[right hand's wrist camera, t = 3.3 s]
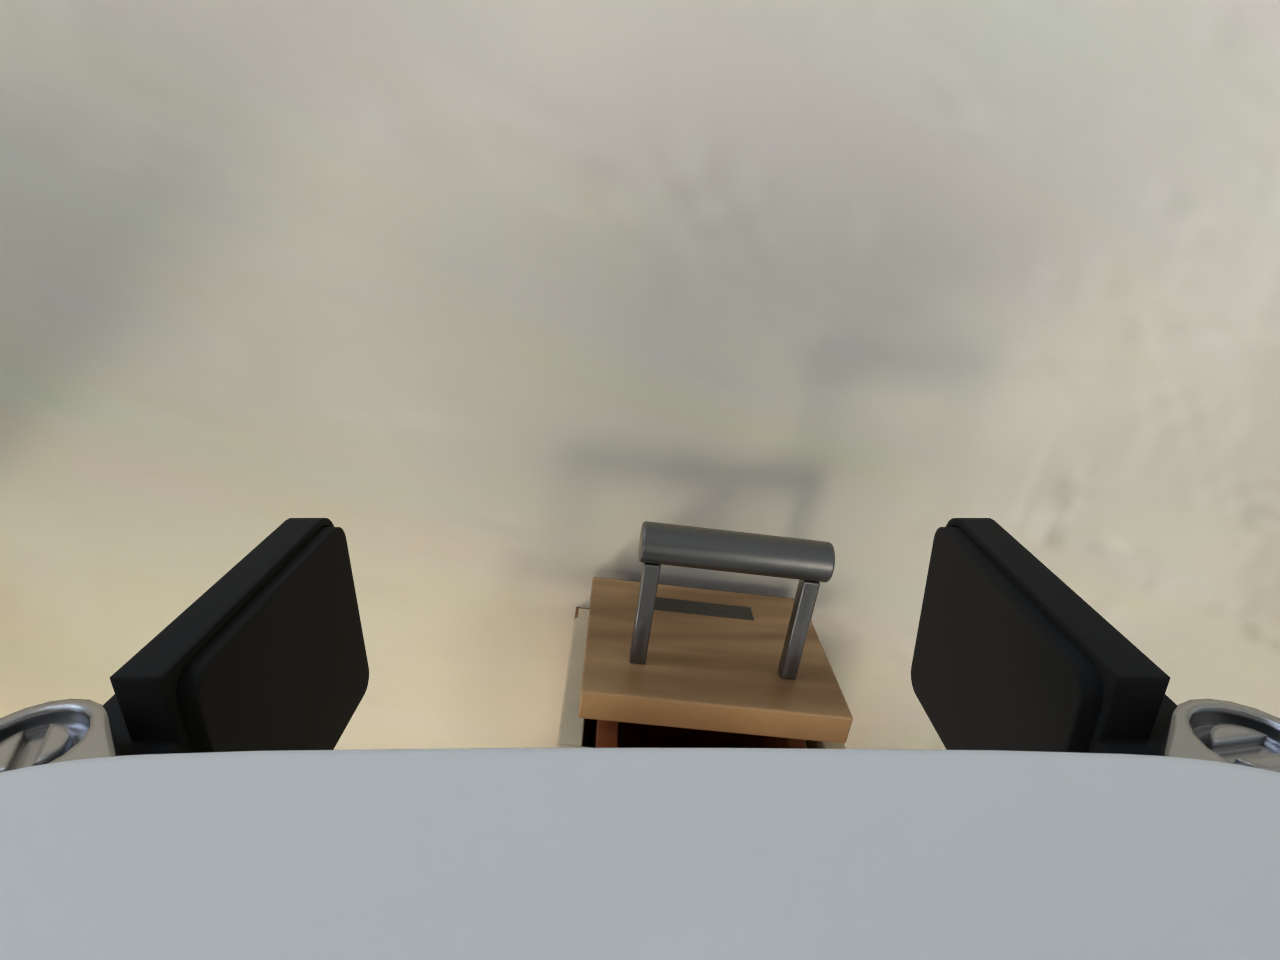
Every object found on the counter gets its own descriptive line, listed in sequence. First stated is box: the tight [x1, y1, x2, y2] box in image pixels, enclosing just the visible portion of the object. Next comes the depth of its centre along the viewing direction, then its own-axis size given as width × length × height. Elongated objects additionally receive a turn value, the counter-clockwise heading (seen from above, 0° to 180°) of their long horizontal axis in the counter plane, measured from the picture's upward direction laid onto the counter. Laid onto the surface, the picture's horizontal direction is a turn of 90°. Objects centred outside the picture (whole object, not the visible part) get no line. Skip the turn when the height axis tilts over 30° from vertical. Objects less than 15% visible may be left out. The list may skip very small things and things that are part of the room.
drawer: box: [578, 521, 853, 749], centre depth 29 cm, size 17×10×8 cm, turn 173°
